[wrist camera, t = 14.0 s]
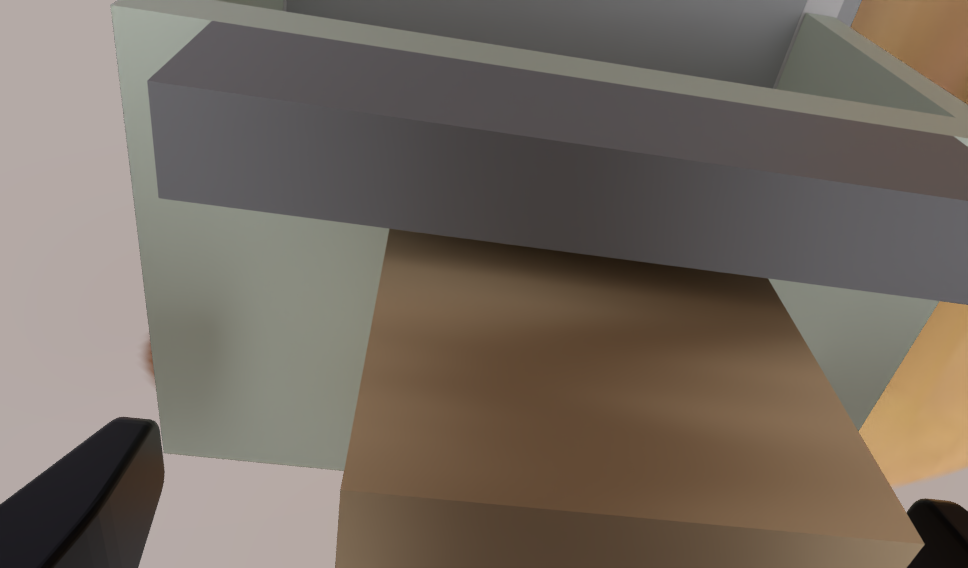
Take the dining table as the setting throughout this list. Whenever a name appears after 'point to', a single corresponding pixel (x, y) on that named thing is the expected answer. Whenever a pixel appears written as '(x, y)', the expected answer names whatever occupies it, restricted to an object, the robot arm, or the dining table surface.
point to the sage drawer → (503, 196)
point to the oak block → (599, 422)
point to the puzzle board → (612, 29)
